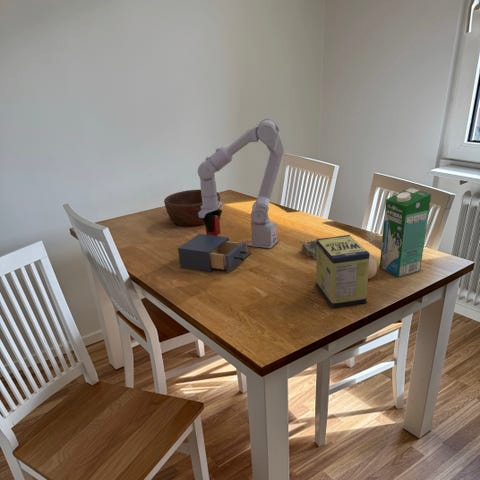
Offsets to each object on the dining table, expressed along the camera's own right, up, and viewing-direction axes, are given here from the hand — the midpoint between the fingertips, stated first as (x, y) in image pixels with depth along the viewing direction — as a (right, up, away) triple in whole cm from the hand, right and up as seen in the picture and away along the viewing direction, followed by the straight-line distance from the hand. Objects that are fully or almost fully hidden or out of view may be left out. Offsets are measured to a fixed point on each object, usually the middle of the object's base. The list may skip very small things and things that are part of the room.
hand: (213, 230), depth 175 cm
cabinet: (-2, -13, -10) cm, 17 cm away
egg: (+51, -22, -31) cm, 63 cm away
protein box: (+40, -27, -38) cm, 62 cm away
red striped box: (0, -1, +1) cm, 2 cm away
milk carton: (+62, -18, -27) cm, 70 cm away
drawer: (+6, -14, -15) cm, 22 cm away
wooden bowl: (-10, +11, +32) cm, 36 cm away
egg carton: (+38, -11, -11) cm, 41 cm away
